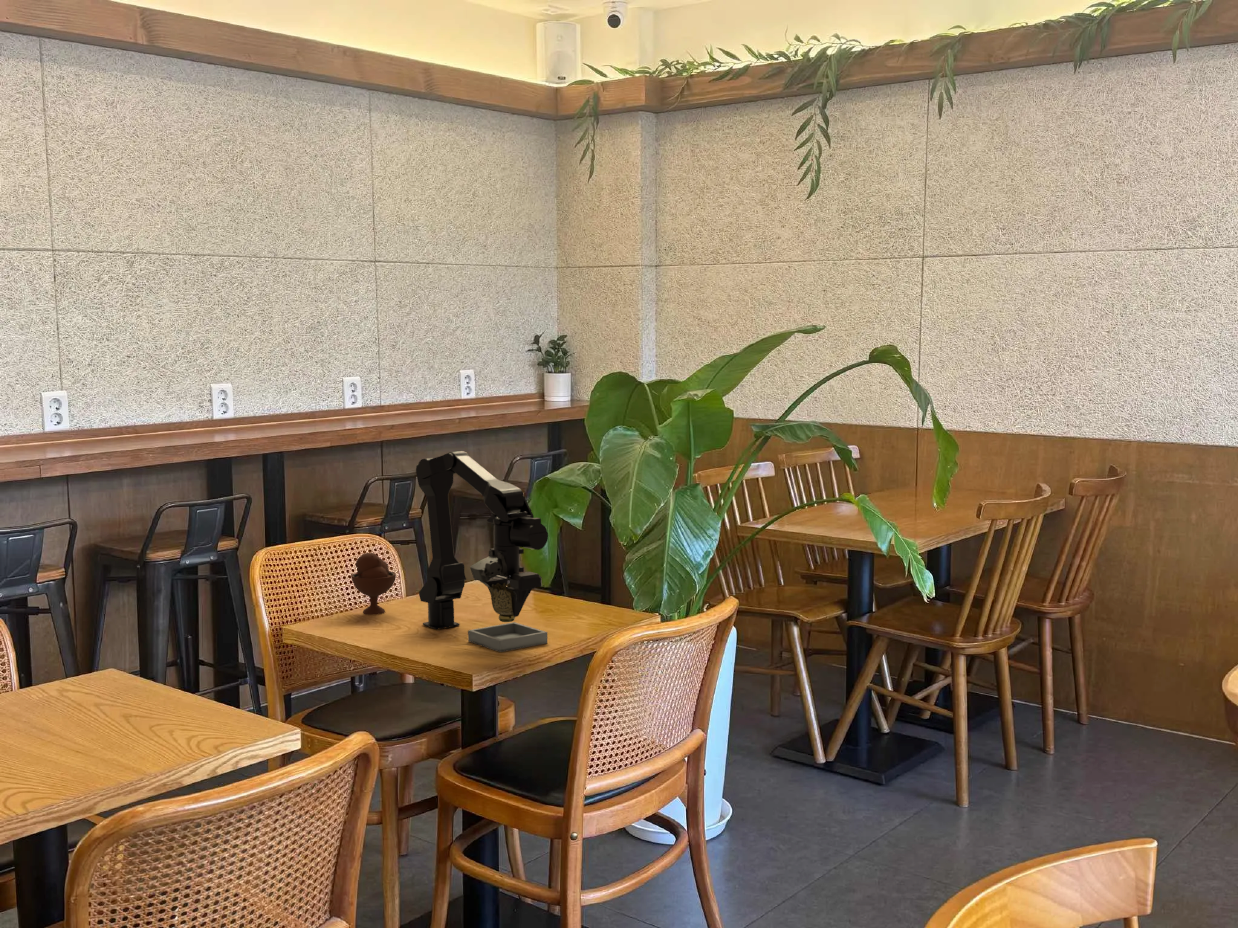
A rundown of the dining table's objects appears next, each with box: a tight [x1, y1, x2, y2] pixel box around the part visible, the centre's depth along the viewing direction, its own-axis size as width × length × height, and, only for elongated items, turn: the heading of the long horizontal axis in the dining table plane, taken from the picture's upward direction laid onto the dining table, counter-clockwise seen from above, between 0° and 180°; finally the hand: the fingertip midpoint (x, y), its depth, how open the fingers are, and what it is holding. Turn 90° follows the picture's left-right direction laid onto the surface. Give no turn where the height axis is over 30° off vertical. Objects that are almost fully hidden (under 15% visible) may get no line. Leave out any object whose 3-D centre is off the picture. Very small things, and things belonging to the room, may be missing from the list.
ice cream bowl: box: [350, 552, 397, 616], centre depth 303 cm, size 11×11×15 cm
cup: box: [489, 582, 516, 623], centre depth 273 cm, size 8×7×8 cm
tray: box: [467, 621, 548, 653], centre depth 273 cm, size 13×13×2 cm
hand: (507, 613), depth 273 cm, fingers closed on cup, 6 cm apart
